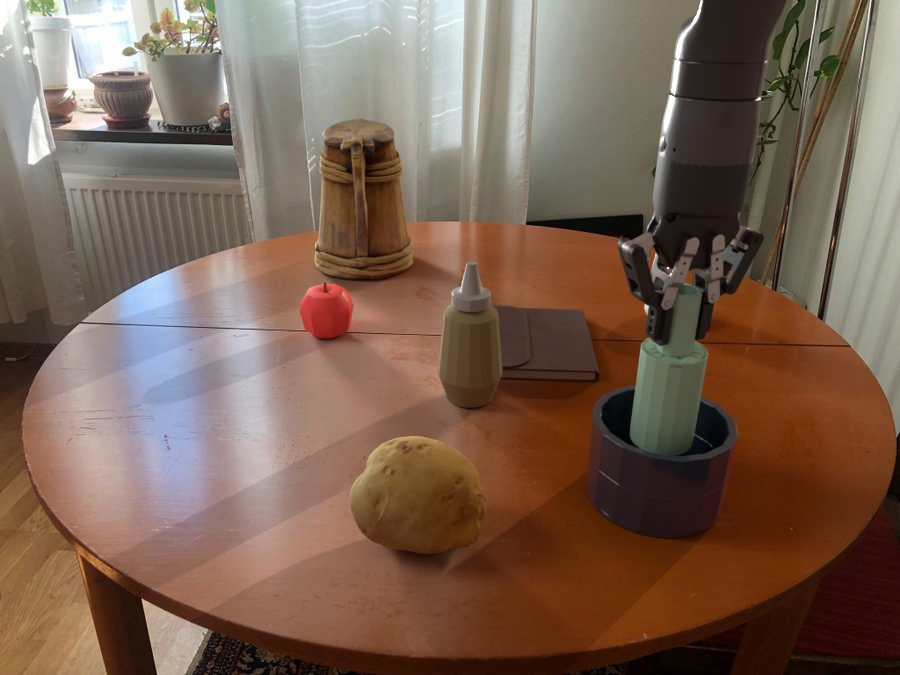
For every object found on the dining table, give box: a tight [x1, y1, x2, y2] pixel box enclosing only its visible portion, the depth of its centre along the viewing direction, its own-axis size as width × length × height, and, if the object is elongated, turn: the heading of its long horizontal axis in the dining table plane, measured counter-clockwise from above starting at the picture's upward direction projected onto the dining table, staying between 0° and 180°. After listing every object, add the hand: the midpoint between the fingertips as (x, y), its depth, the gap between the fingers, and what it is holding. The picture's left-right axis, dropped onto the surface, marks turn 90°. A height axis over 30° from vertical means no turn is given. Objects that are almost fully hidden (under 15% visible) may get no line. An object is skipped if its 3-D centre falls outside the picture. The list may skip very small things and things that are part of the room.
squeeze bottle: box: [437, 261, 503, 409], centre depth 90 cm, size 8×8×18 cm
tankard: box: [313, 117, 415, 281], centre depth 129 cm, size 18×24×25 cm
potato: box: [348, 435, 487, 555], centre depth 69 cm, size 10×12×10 cm
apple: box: [299, 281, 355, 340], centre depth 109 cm, size 8×8×8 cm
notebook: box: [492, 305, 601, 383], centre depth 106 cm, size 15×20×2 cm
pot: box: [585, 385, 739, 539], centre depth 74 cm, size 14×14×9 cm
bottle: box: [630, 282, 709, 456], centre depth 70 cm, size 6×6×16 cm
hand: (676, 338), depth 69 cm, fingers closed on bottle, 3 cm apart
